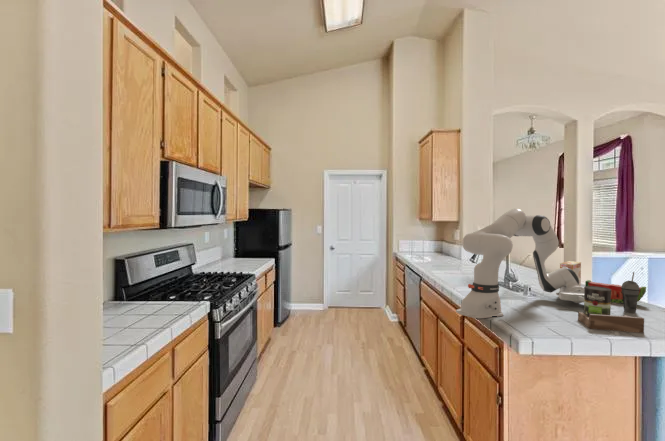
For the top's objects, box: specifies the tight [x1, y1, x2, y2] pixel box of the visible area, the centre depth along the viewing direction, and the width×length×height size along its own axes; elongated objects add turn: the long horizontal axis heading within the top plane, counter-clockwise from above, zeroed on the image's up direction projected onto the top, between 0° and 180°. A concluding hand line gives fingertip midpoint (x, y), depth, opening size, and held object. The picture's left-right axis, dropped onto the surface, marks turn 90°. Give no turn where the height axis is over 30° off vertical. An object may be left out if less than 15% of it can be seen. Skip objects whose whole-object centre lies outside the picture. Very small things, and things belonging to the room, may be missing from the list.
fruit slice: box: [584, 279, 647, 304], centre depth 202 cm, size 26×6×10 cm, turn 45°
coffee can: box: [583, 285, 612, 317], centre depth 171 cm, size 10×10×14 cm
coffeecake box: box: [559, 260, 582, 287], centre depth 218 cm, size 15×7×20 cm, turn 130°
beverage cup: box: [621, 271, 640, 314], centre depth 181 cm, size 7×7×20 cm
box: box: [577, 311, 645, 334], centre depth 159 cm, size 14×19×6 cm
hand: (587, 300), depth 182 cm, fingers closed
